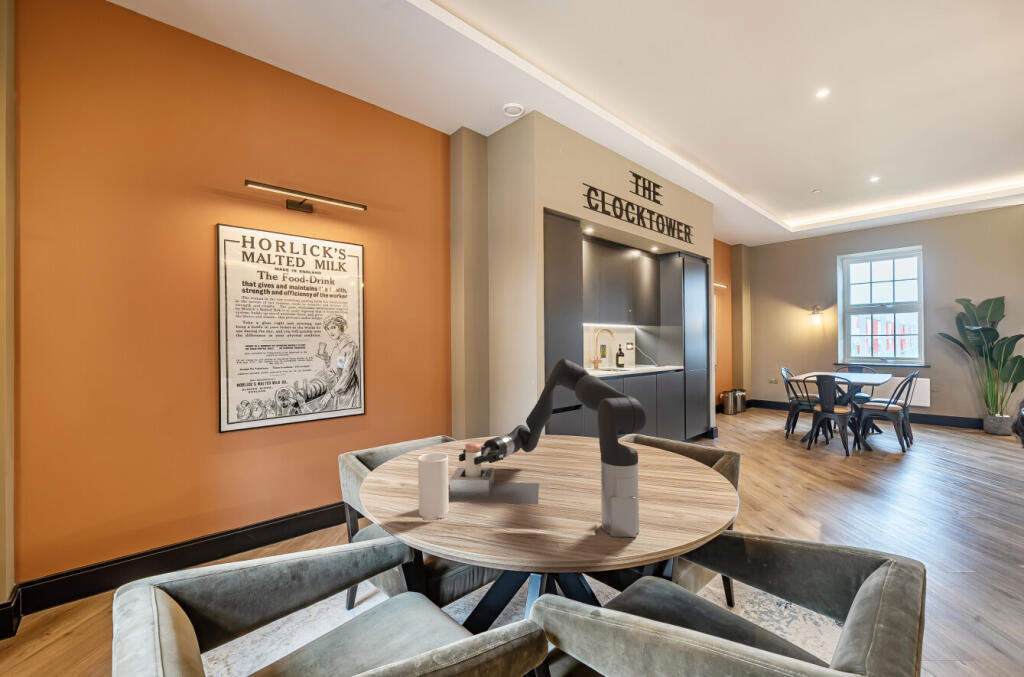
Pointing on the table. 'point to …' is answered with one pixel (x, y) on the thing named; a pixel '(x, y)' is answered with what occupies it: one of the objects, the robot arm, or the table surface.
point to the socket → (472, 483)
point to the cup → (433, 485)
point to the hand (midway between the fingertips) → (467, 459)
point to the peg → (472, 460)
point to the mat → (505, 494)
